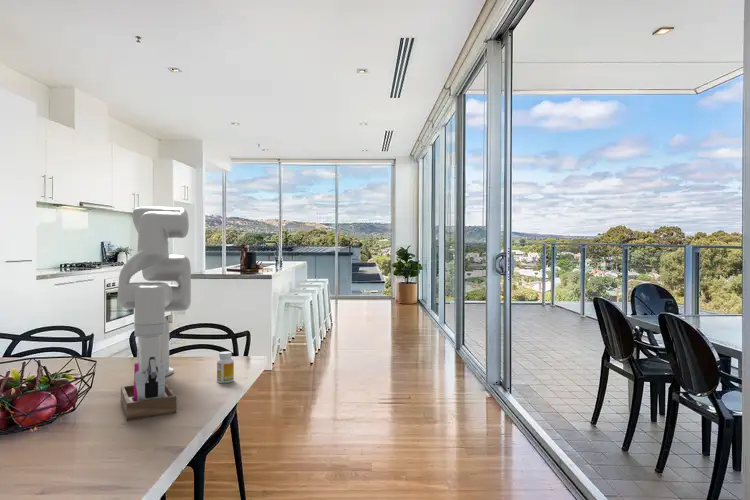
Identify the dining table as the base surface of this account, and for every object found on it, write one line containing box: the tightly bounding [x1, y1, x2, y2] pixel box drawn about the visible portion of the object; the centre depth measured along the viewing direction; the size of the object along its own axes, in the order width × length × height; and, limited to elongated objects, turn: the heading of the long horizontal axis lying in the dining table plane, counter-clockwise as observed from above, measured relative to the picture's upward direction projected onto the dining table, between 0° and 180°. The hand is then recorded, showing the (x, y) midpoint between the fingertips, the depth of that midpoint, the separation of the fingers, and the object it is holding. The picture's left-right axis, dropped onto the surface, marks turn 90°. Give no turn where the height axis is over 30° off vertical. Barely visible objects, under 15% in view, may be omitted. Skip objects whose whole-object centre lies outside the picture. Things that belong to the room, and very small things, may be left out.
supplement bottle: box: [216, 351, 235, 384], centre depth 163 cm, size 5×5×10 cm
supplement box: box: [133, 361, 166, 401], centre depth 134 cm, size 6×6×12 cm
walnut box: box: [120, 380, 177, 422], centre depth 136 cm, size 18×12×4 cm, turn 32°
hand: (149, 392), depth 134 cm, fingers closed on supplement box, 7 cm apart
